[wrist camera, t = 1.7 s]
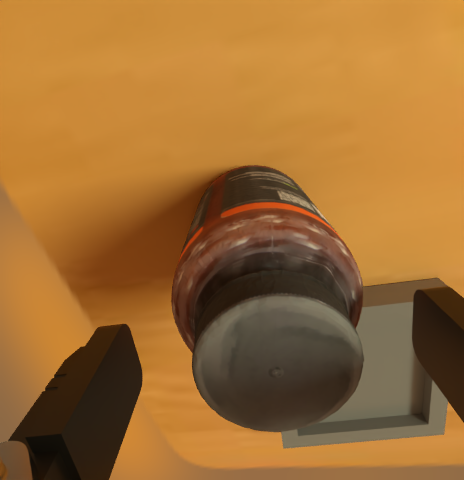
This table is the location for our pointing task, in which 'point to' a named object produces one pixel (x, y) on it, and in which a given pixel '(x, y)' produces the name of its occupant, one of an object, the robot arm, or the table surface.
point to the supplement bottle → (268, 304)
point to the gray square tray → (384, 378)
